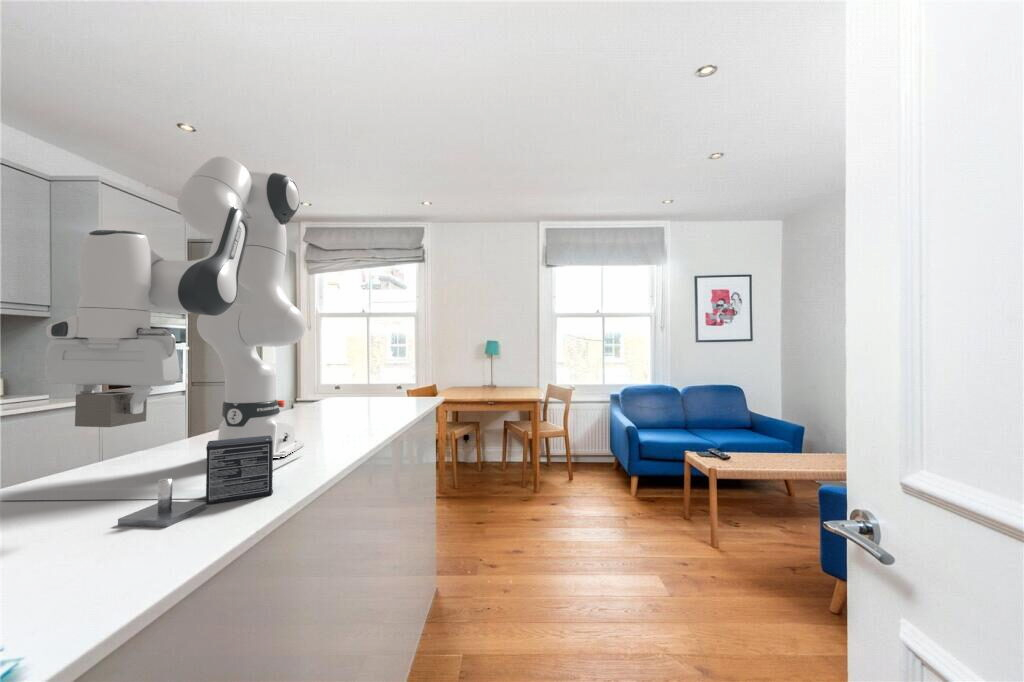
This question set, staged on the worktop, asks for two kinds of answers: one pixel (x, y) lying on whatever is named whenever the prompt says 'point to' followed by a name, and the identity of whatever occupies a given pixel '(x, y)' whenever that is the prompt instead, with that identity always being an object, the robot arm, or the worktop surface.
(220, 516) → the worktop surface
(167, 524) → the shaft stand
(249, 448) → the small box
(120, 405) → the collar
